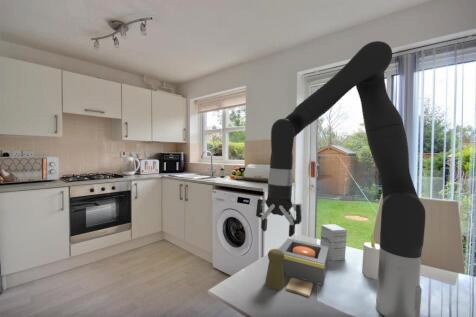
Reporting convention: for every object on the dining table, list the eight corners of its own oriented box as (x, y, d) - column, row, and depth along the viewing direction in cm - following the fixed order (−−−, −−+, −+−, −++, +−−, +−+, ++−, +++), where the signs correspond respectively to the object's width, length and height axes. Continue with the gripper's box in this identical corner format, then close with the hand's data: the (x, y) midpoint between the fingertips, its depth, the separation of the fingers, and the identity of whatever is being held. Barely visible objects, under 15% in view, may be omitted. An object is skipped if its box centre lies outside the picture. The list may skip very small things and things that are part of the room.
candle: (386, 276, 82) (388, 235, 81) (375, 280, 79) (377, 237, 78) (369, 268, 87) (371, 229, 87) (358, 271, 84) (360, 231, 84)
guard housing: (327, 264, 89) (328, 246, 89) (323, 285, 74) (324, 264, 74) (286, 254, 96) (287, 238, 96) (275, 272, 81) (276, 252, 81)
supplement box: (319, 253, 99) (320, 224, 98) (333, 252, 101) (334, 223, 101) (330, 261, 92) (332, 230, 91) (345, 259, 94) (347, 229, 94)
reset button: (316, 257, 87) (316, 249, 87) (312, 266, 80) (313, 257, 80) (294, 252, 90) (295, 244, 90) (290, 260, 83) (290, 252, 83)
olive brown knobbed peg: (284, 291, 70) (285, 255, 70) (264, 288, 71) (266, 253, 71) (284, 280, 76) (285, 248, 75) (265, 278, 77) (267, 245, 77)
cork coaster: (312, 285, 74) (312, 283, 74) (309, 297, 68) (309, 295, 68) (291, 279, 77) (291, 277, 77) (286, 289, 71) (286, 287, 71)
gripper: (305, 184, 73) (302, 234, 73) (263, 179, 79) (260, 226, 80) (300, 186, 66) (297, 242, 67) (254, 181, 72) (252, 232, 73)
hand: (277, 233), depth 73 cm, fingers open, 8 cm apart
